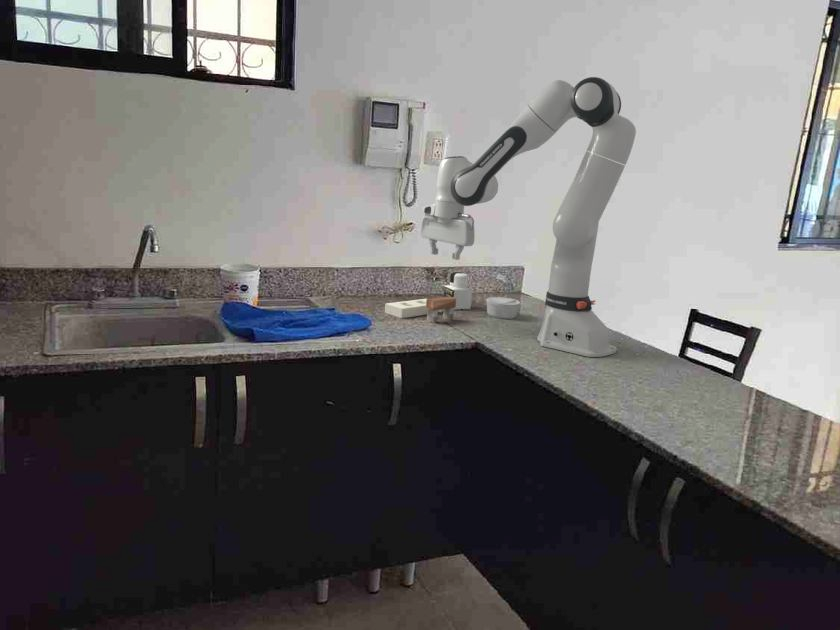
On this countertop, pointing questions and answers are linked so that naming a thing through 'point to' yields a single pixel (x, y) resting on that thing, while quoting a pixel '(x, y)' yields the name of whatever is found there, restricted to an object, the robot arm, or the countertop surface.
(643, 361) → the countertop surface
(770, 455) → the countertop surface
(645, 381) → the countertop surface
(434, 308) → the clip
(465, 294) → the medicine bottle
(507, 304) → the ramekin
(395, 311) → the white flat block
